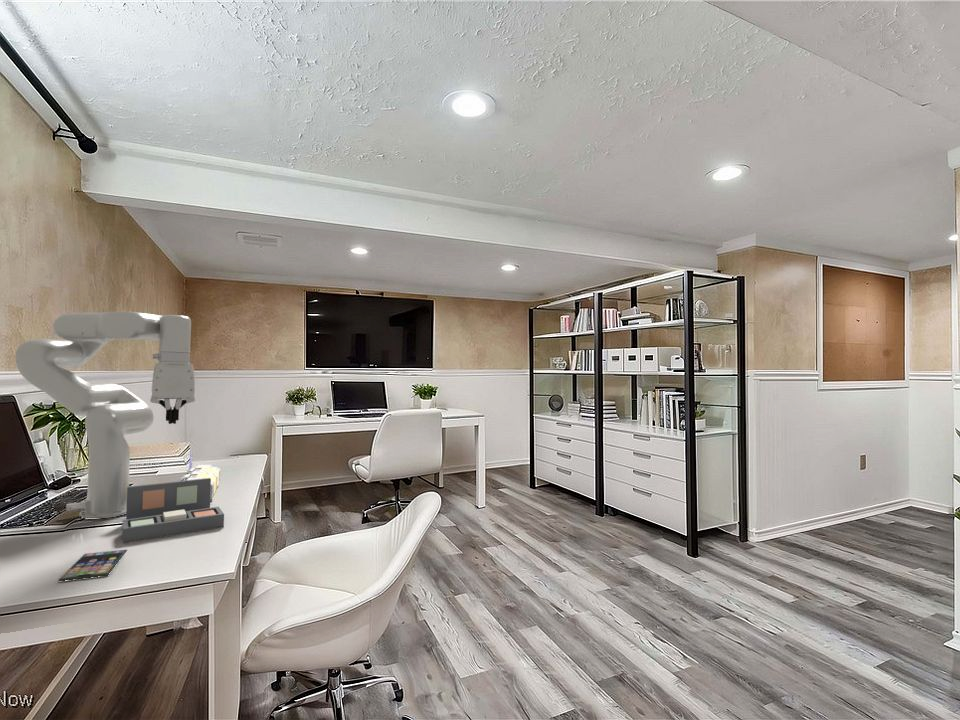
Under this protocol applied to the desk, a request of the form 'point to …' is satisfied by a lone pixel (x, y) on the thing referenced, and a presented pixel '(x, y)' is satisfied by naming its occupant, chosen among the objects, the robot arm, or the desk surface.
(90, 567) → the smartphone
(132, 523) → the key sage
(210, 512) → the key terracotta
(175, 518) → the key cream
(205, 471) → the white yellow ridged block
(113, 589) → the desk surface
